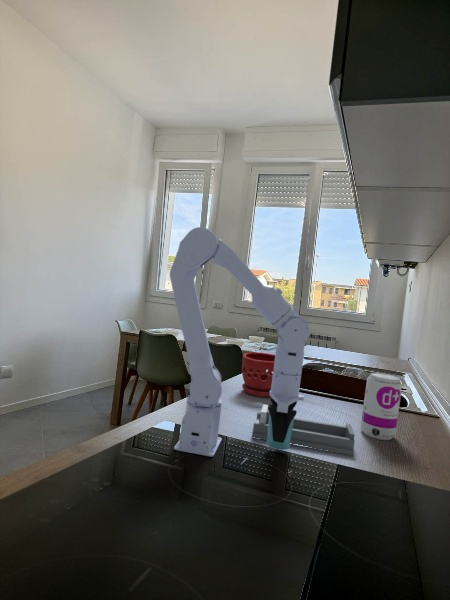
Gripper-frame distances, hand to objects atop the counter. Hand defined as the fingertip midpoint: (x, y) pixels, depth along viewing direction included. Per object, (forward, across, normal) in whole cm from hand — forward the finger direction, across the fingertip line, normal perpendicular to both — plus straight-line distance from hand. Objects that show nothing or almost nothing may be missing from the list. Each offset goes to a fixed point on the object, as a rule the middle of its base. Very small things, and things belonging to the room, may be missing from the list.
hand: (278, 436), depth 87 cm
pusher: (+2, +11, +2) cm, 11 cm away
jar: (+2, 0, 0) cm, 2 cm away
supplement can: (+3, +23, -24) cm, 33 cm away
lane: (+3, +11, -4) cm, 12 cm away
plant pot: (+4, +45, +8) cm, 46 cm away
